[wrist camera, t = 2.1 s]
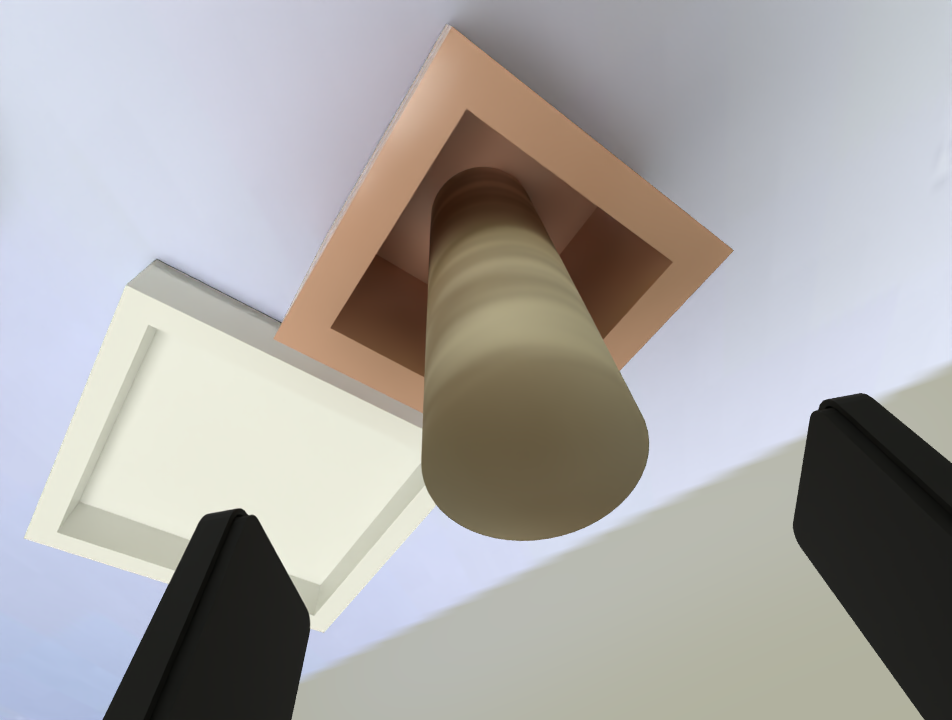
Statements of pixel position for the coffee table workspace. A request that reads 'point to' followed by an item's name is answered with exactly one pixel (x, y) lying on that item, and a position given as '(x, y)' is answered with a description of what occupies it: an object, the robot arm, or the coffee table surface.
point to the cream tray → (230, 447)
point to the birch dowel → (517, 375)
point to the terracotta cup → (552, 194)
